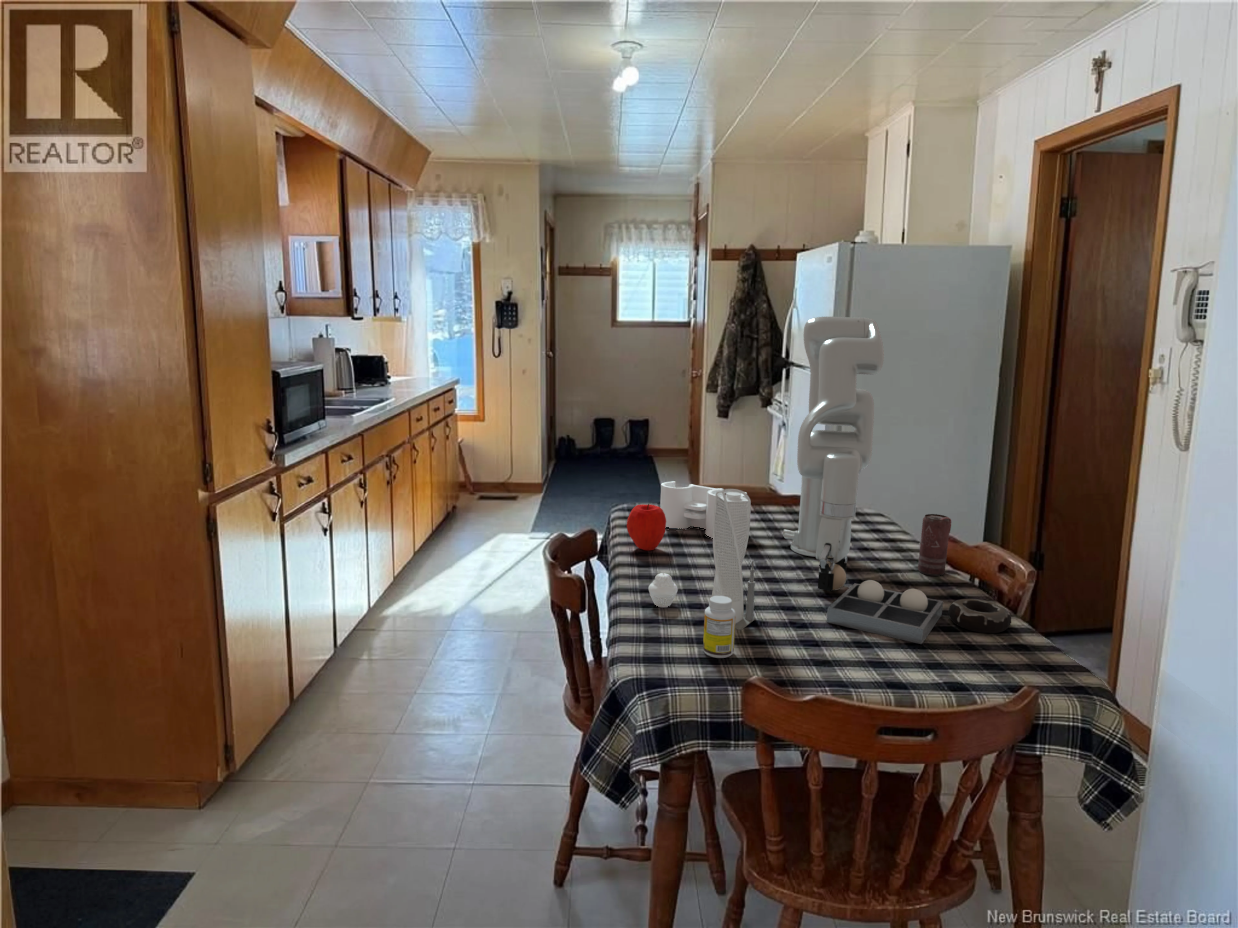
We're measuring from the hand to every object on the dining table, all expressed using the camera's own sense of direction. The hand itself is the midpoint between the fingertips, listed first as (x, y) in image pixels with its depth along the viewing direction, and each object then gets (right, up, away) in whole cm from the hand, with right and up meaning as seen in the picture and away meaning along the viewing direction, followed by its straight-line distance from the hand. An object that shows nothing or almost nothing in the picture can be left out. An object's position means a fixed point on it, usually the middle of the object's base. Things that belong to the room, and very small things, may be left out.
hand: (831, 583), depth 181 cm
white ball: (+13, -4, -15) cm, 20 cm away
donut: (+25, -6, -18) cm, 31 cm away
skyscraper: (-26, -5, -20) cm, 33 cm away
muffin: (-39, -3, -12) cm, 40 cm away
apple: (-41, +5, +27) cm, 49 cm away
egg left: (+5, -3, -10) cm, 12 cm away
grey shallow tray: (+7, -5, -16) cm, 18 cm away
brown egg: (0, -1, 0) cm, 1 cm away
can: (+28, 0, +14) cm, 31 cm away
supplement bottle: (-30, -8, -35) cm, 46 cm away
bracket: (-25, +8, +45) cm, 53 cm away
